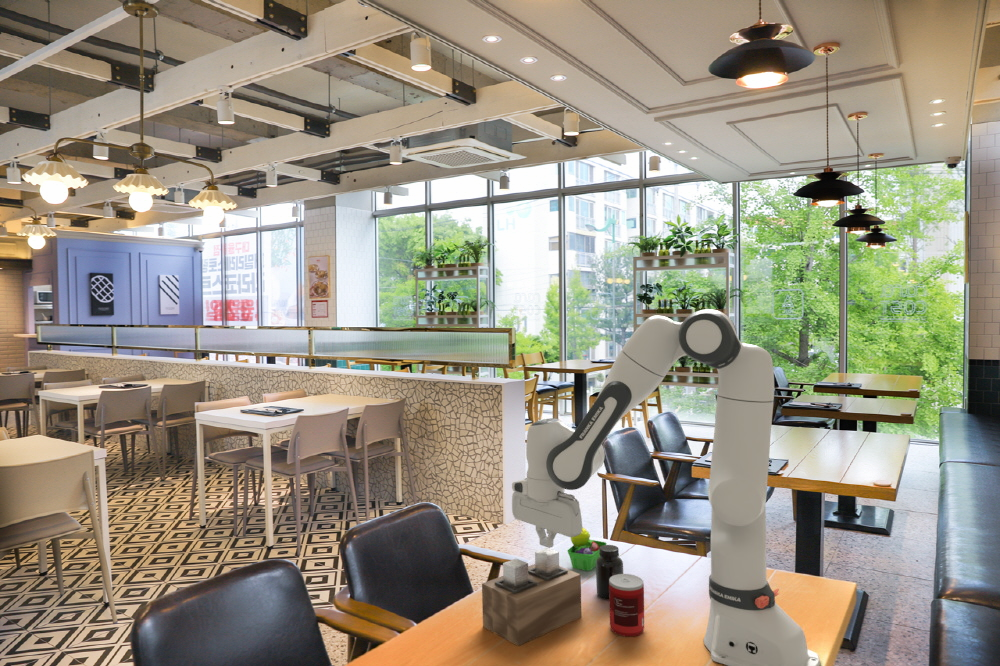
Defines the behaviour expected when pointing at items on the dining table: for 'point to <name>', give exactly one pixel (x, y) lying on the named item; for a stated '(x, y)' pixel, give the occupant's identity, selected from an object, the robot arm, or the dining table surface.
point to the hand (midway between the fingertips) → (546, 545)
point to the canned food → (626, 604)
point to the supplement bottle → (607, 568)
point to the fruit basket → (584, 551)
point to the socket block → (531, 605)
